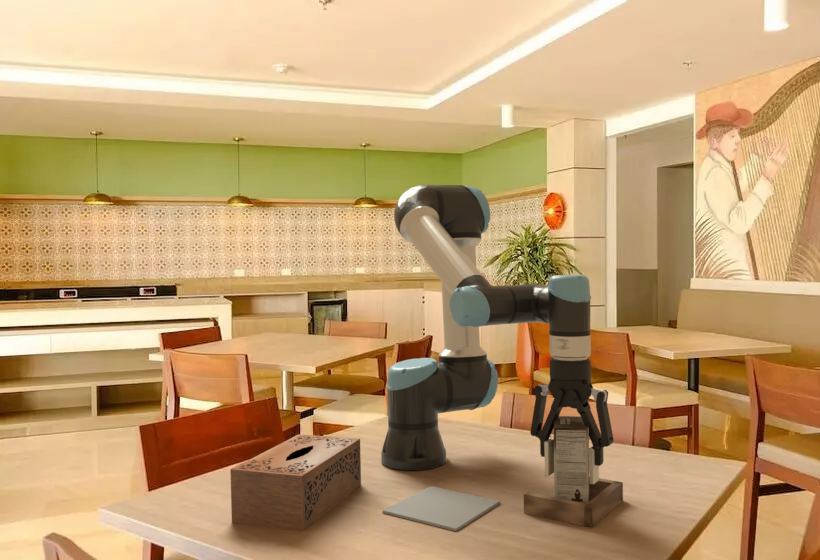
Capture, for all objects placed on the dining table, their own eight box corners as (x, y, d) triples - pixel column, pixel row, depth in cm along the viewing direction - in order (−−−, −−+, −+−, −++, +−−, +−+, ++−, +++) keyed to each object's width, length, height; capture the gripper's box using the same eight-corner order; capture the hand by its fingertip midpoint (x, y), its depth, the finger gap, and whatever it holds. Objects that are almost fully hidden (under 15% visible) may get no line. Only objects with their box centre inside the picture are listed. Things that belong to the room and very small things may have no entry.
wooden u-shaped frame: (524, 512, 126) (523, 494, 126) (559, 488, 139) (558, 471, 139) (592, 527, 118) (592, 507, 118) (622, 500, 131) (622, 482, 131)
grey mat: (382, 512, 127) (382, 510, 127) (430, 488, 140) (430, 486, 140) (456, 531, 118) (456, 528, 118) (500, 503, 131) (500, 500, 131)
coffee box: (554, 496, 134) (553, 415, 134) (588, 498, 133) (587, 415, 132) (554, 513, 125) (553, 426, 125) (590, 515, 124) (589, 427, 123)
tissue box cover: (303, 532, 119) (302, 476, 119) (231, 524, 124) (230, 469, 124) (361, 486, 144) (360, 438, 143) (299, 480, 148) (298, 434, 148)
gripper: (510, 356, 131) (512, 474, 132) (618, 364, 119) (620, 493, 120) (527, 351, 137) (529, 464, 138) (632, 358, 125) (633, 482, 126)
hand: (571, 477), depth 129 cm, fingers closed on coffee box, 8 cm apart
